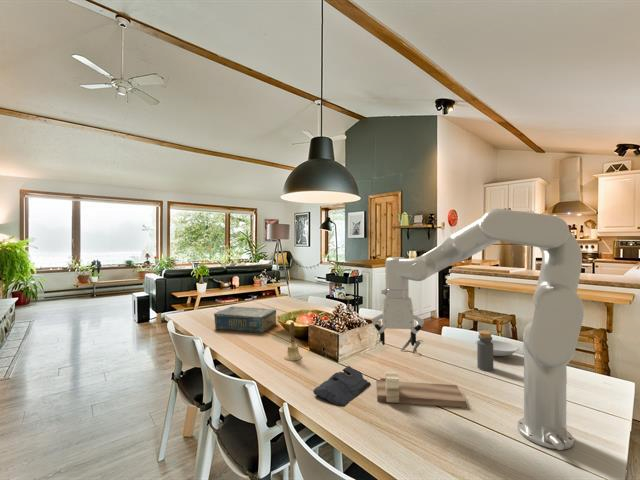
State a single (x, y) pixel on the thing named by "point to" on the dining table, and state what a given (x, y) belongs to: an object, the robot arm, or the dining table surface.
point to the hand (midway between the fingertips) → (397, 344)
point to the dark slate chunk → (342, 386)
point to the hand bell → (292, 347)
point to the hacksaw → (414, 347)
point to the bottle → (485, 351)
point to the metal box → (245, 319)
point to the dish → (502, 348)
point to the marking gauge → (392, 387)
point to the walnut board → (424, 394)
